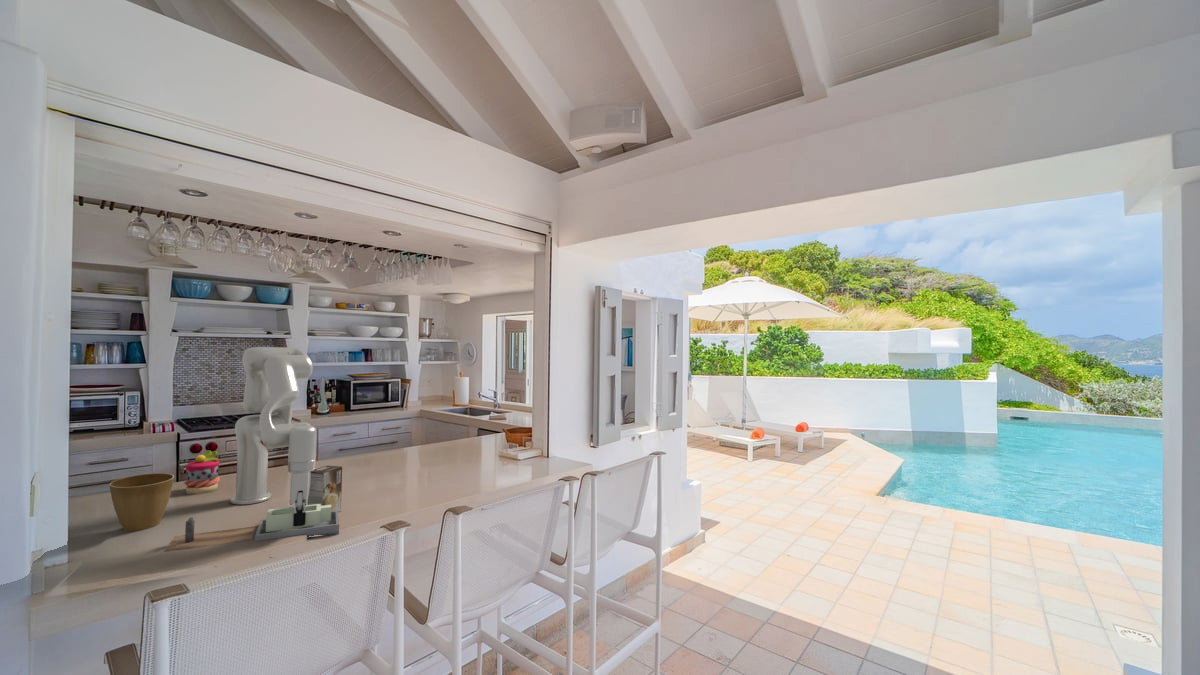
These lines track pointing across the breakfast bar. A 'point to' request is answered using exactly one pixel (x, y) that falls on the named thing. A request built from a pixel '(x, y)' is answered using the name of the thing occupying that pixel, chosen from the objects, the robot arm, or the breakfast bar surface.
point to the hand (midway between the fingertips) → (299, 520)
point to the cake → (202, 474)
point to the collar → (284, 517)
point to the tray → (303, 529)
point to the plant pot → (141, 499)
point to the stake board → (208, 537)
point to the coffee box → (326, 487)
